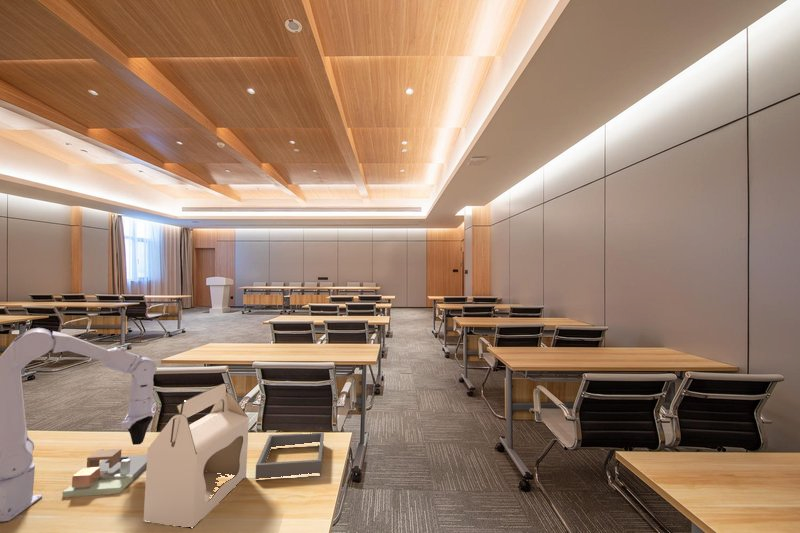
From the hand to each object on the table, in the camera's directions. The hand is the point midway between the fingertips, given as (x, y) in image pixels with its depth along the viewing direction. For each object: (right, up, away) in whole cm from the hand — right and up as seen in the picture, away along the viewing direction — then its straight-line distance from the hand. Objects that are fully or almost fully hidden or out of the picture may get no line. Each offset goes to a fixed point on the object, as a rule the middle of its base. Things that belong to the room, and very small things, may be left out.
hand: (137, 443), depth 103 cm
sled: (-3, -6, -8) cm, 11 cm away
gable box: (+26, -9, -12) cm, 30 cm away
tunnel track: (-4, -8, -4) cm, 10 cm away
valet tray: (+45, -10, +7) cm, 46 cm away
